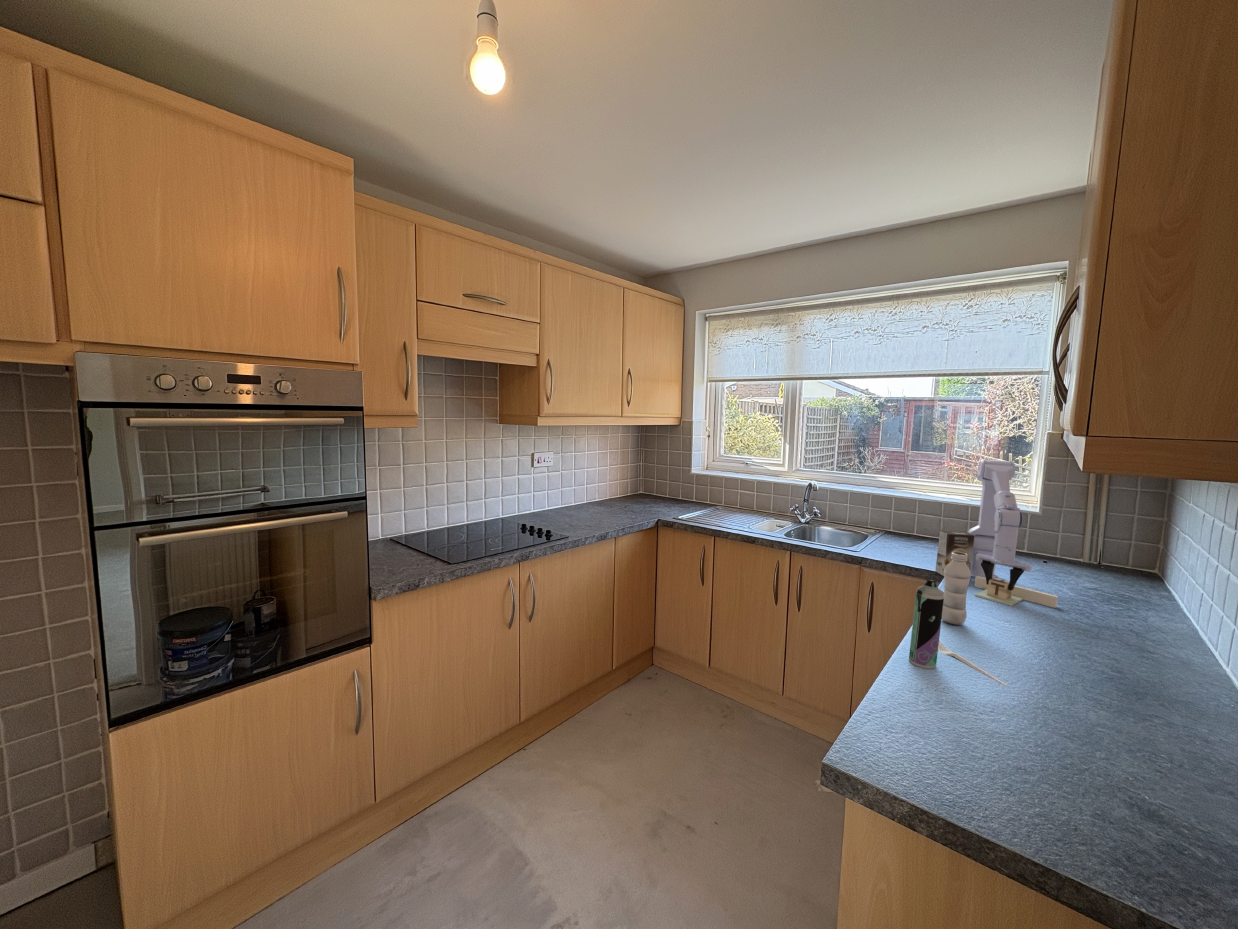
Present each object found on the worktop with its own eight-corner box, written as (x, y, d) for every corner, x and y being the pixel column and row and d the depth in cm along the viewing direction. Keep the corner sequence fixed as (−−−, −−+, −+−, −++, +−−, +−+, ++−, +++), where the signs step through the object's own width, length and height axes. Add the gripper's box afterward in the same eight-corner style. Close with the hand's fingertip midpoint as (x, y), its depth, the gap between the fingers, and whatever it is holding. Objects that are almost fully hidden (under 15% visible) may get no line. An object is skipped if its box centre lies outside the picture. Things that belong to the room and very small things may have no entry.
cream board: (976, 585, 177) (977, 576, 177) (1056, 607, 159) (1058, 596, 159) (974, 586, 176) (975, 576, 176) (1055, 607, 158) (1056, 597, 158)
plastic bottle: (967, 623, 143) (975, 554, 141) (963, 629, 138) (971, 558, 136) (941, 616, 148) (948, 549, 146) (935, 622, 143) (943, 553, 141)
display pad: (986, 590, 172) (986, 588, 172) (1022, 600, 164) (1022, 598, 164) (974, 595, 166) (974, 594, 166) (1011, 606, 158) (1011, 604, 158)
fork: (1001, 690, 109) (1002, 682, 109) (926, 645, 128) (927, 638, 128) (1013, 689, 110) (1014, 680, 109) (937, 644, 129) (938, 637, 129)
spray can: (926, 671, 114) (936, 585, 112) (903, 660, 119) (912, 577, 117) (941, 666, 117) (950, 582, 115) (917, 656, 122) (926, 575, 119)
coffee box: (943, 576, 186) (948, 533, 184) (934, 571, 192) (938, 529, 191) (970, 578, 185) (975, 535, 183) (960, 572, 191) (964, 531, 190)
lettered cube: (992, 592, 169) (995, 577, 168) (1010, 597, 165) (1013, 582, 164) (986, 594, 166) (988, 579, 165) (1004, 599, 162) (1007, 584, 161)
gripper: (974, 542, 167) (969, 582, 168) (1028, 553, 155) (1022, 596, 157) (982, 539, 171) (977, 579, 173) (1036, 550, 159) (1030, 592, 161)
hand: (999, 587), depth 165 cm, fingers open, 5 cm apart
